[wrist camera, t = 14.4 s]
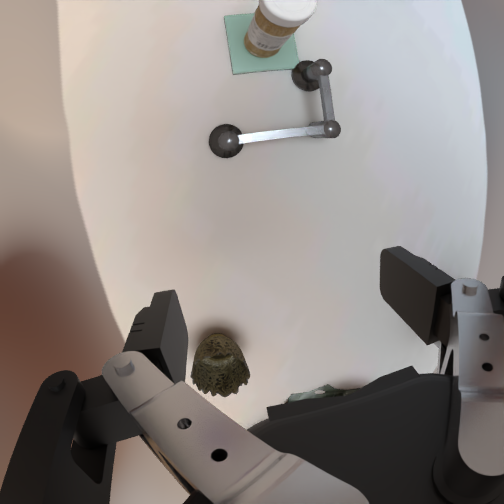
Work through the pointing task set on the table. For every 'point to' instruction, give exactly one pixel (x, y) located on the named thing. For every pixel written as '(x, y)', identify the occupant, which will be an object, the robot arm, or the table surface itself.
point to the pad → (247, 61)
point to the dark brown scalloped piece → (219, 366)
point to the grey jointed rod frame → (308, 79)
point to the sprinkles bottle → (276, 24)
